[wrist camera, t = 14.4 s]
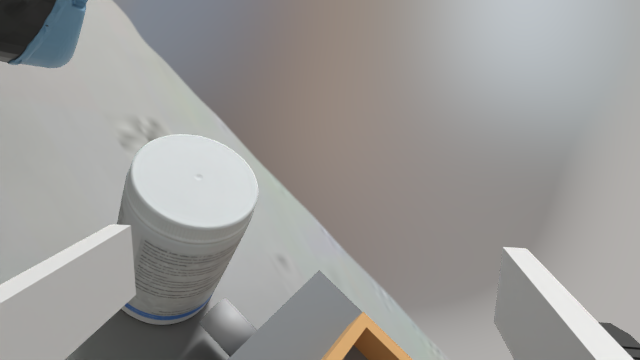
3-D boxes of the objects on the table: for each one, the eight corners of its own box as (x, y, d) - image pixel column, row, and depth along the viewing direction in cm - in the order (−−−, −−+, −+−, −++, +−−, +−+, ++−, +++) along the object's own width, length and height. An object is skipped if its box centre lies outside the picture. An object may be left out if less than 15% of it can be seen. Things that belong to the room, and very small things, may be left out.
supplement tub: (231, 288, 44) (287, 196, 34) (152, 351, 36) (195, 257, 27) (168, 221, 45) (204, 117, 36) (81, 269, 38) (98, 155, 29)
